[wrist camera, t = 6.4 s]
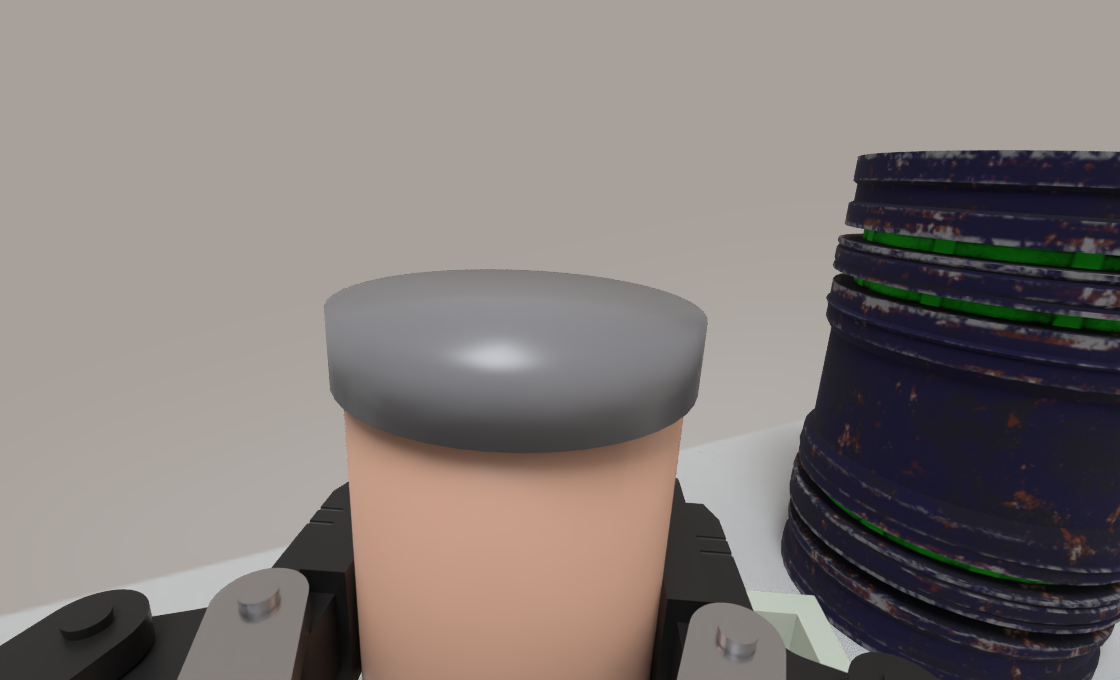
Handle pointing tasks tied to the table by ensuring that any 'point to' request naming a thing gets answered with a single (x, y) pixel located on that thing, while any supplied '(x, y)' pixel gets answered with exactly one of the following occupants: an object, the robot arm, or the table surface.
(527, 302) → the canister
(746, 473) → the table surface
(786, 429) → the table surface
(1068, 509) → the dark blue barrel
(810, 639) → the parts tub
